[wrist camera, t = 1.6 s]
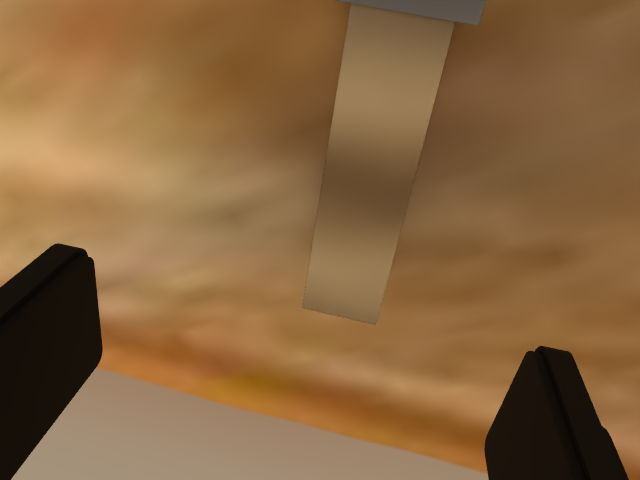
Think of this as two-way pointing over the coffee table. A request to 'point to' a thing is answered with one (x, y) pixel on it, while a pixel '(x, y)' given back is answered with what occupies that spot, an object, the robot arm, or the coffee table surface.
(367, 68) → the bed rail
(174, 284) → the coffee table surface
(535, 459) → the robot arm
